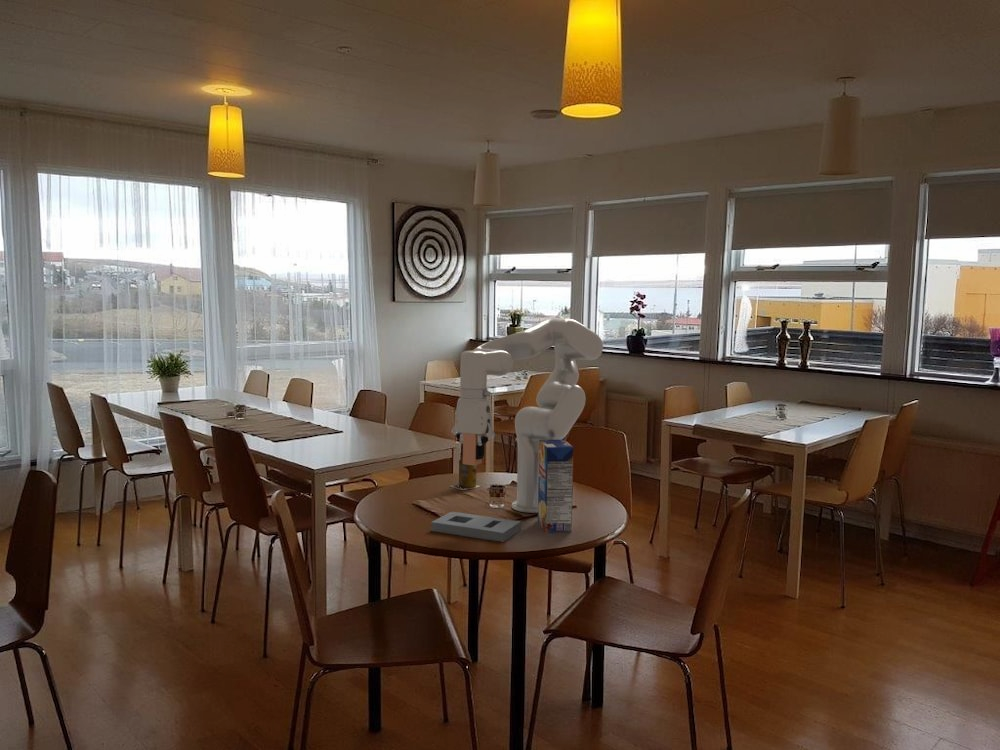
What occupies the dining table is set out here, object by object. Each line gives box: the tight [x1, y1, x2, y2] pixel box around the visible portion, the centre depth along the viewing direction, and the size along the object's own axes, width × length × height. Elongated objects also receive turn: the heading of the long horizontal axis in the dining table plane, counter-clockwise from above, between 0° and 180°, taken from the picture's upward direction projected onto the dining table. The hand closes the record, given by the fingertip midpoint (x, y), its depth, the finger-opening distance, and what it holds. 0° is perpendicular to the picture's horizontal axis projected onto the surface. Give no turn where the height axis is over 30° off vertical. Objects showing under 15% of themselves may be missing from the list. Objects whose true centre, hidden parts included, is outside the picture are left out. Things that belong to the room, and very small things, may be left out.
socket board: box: [430, 511, 522, 543], centre depth 213 cm, size 12×22×2 cm, turn 65°
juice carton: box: [537, 439, 575, 534], centre depth 217 cm, size 12×8×24 cm, turn 7°
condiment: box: [449, 452, 482, 491], centre depth 263 cm, size 7×8×12 cm
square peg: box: [463, 433, 483, 466], centre depth 218 cm, size 4×4×9 cm
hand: (472, 457), depth 218 cm, fingers closed on square peg, 4 cm apart
